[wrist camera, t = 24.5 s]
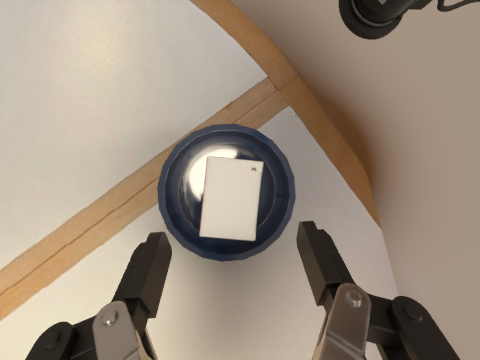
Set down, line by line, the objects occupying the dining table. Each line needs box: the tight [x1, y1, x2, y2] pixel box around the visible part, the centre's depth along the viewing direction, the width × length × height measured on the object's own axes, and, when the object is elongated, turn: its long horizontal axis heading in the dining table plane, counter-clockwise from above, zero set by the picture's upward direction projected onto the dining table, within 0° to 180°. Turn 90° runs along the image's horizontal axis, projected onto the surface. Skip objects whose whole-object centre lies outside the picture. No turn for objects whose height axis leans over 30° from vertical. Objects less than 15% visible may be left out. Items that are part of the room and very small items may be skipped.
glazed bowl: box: [157, 124, 296, 262], centre depth 27 cm, size 17×17×6 cm
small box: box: [199, 156, 264, 241], centre depth 24 cm, size 8×6×10 cm
